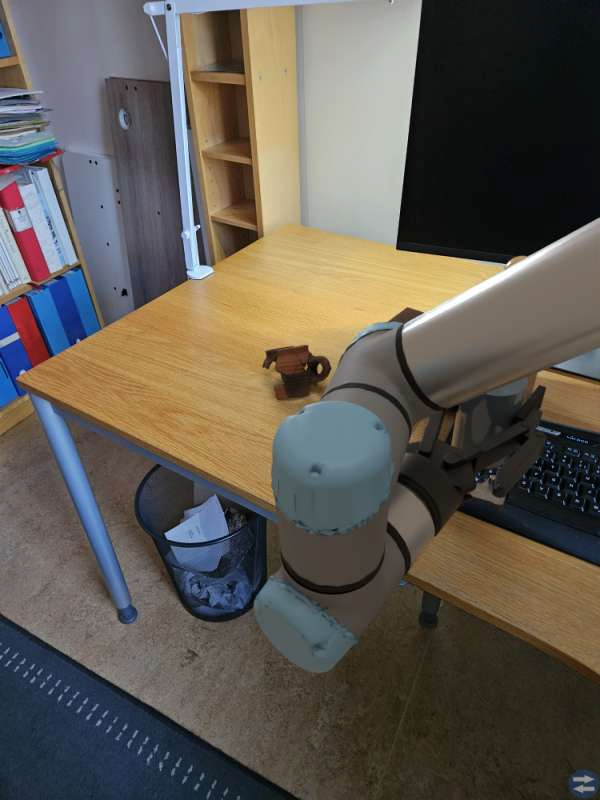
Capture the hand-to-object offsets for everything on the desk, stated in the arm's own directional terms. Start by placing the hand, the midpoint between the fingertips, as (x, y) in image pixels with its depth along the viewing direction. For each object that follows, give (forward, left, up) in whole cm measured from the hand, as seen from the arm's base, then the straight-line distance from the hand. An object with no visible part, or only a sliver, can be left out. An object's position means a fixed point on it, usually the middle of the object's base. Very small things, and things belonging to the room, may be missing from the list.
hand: (508, 384), depth 63 cm
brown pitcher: (+35, -4, -18) cm, 40 cm away
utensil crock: (0, +5, -6) cm, 8 cm away
